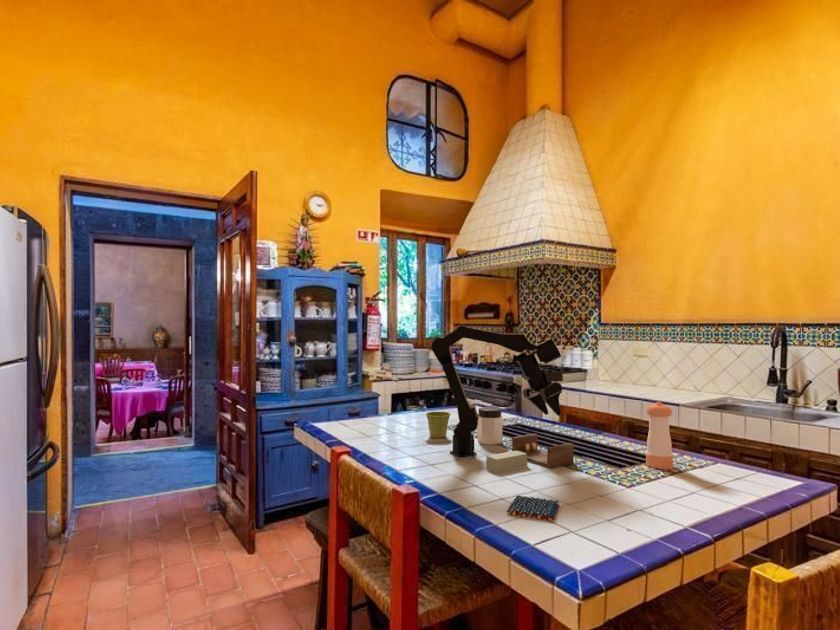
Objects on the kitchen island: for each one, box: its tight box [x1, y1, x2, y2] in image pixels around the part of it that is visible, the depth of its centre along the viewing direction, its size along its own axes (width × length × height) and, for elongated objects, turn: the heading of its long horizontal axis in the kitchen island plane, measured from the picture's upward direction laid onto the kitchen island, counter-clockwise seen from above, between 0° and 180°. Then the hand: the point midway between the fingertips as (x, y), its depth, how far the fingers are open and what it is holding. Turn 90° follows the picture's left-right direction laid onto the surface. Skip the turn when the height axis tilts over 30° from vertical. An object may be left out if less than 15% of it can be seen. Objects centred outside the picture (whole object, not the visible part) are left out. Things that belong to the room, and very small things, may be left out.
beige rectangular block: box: [485, 450, 528, 473], centre depth 149 cm, size 12×4×4 cm, turn 122°
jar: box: [477, 406, 503, 446], centre depth 181 cm, size 9×8×12 cm
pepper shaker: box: [645, 401, 674, 470], centre depth 151 cm, size 7×7×19 cm
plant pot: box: [425, 411, 451, 439], centre depth 189 cm, size 9×9×9 cm
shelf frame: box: [511, 433, 575, 469], centre depth 158 cm, size 16×10×6 cm, turn 32°
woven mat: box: [506, 495, 560, 522], centre depth 115 cm, size 10×11×2 cm
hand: (553, 414), depth 160 cm, fingers open, 9 cm apart
